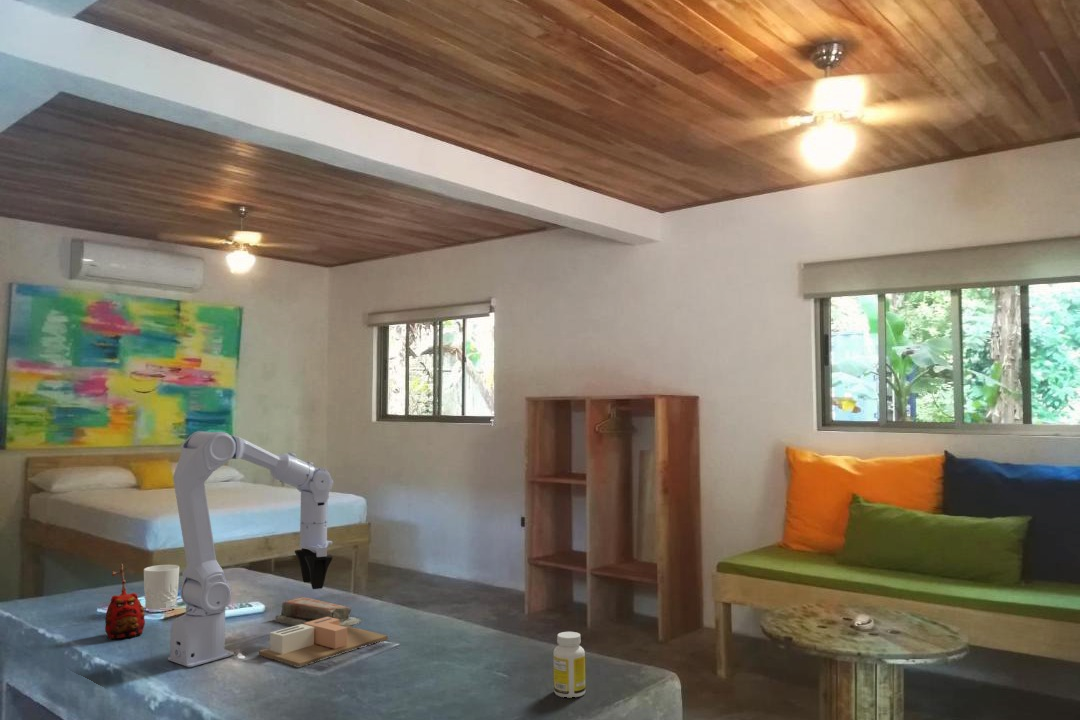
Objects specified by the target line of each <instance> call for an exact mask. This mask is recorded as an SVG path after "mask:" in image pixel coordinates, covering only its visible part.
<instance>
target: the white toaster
mask: <svg viewBox="0 0 1080 720" xmlns="http://www.w3.org/2000/svg"><path fill="white" fill-rule="evenodd" d="M269 633H270V634H269V635H270V636H269V648H270V651H274V652H277V653H280V654H284V653H288V652H291V651H295V650H298V649H301V648H305V647H308V646H311V645H314V627H312V626H308V625H304V624H300V625H296V626H294V625H292V626H289V627H285V628H282V629H278V630H274V631H271V632H269Z"/></svg>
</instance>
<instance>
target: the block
mask: <svg viewBox="0 0 1080 720" xmlns="http://www.w3.org/2000/svg"><path fill="white" fill-rule="evenodd" d="M304 625H308V626H312V627H314V643H316V644H319V645H323V646H327V647H330V648H334V649H336V648H340V647H343V646H346V645H347V627H343V626H340V620H339V619H335V618H331V617H324V618H320V619H317V620H313V621H309V622H306V623H304Z"/></svg>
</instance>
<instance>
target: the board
mask: <svg viewBox="0 0 1080 720" xmlns="http://www.w3.org/2000/svg"><path fill="white" fill-rule="evenodd" d="M344 627H347V645H346V646H343V647H340V648H336V649H334V648H330V647H327V646H323V645H319V644H316V643H314V645H311V646H308V647H305V648H301V649H298V650H295V651H291V652H288V653H284V654H280V653H277V652H274V651H270V647H268V648H265V649H261V650H258V656H260V655H261V656H260V657H263V656H264V657H265V658H267V657H268V658H267V659H270V658H271V659H270V660H273V659H275V660H274V661H276V660H280V661H283V662H286V663H289V664H293V665H296V666H303V665H306V664H309V663H311V662H315V661H318V660H320V659H323V658H326V657H329V656H333V655H336V654H339V653H342V652H345V651H349V650H352V649H355V648H359V647H361V646H365V645H369V644H372V643H375V642H379V641H382V642H384V640H385V641H388V637H389V636H388V635H387V634H386V635H385V634H383V633H378V632H375V631H374V632H373V631H369V630H366V629H362V628H357V627H353V626H344ZM379 643H380V642H379ZM369 646H370V645H369ZM283 662H282V663H283ZM286 663H285V664H286ZM289 664H288V665H289Z"/></svg>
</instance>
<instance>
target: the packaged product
mask: <svg viewBox="0 0 1080 720" xmlns="http://www.w3.org/2000/svg"><path fill="white" fill-rule="evenodd" d="M281 604H282V605H281V612H280V613H281V614H280V615H278V614H277V615H275V619H274V621H275V622H277V623H282V624H286V625H290V626H296V625H300V624H304V623H306V622H309V621H313V620H317V619H320V618H324V617H331V618H335V619H339V620H340V626H343V627H344V626H350V627H352V626H354V625H357V623H358V624H360V623H359V622H362V618H358V617H357V618H356V617H352V616H351V617H350V614H351V612H352V608H351V607H348V606H345V605H341V604H336V603H331V602H326V601H322V600H318V599H314V598H308V597H296V598H292V599H289V600H285V601H283V602H282V603H281Z"/></svg>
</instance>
